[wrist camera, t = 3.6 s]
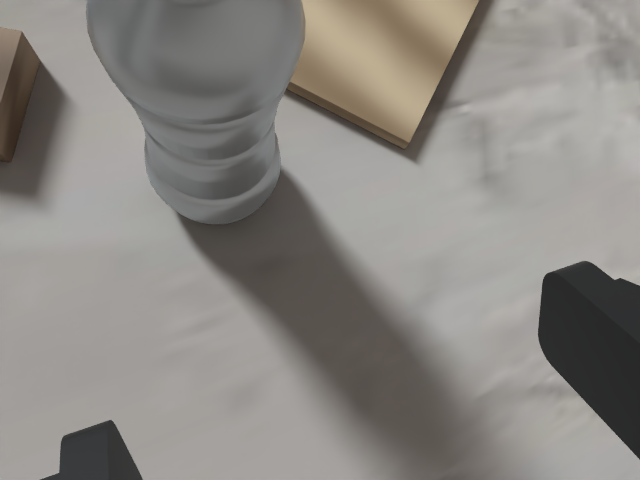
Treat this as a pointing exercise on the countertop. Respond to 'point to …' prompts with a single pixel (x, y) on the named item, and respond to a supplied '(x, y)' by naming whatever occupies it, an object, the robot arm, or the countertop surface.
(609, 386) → the robot arm
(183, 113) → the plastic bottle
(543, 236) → the countertop surface
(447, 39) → the oak mat
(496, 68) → the countertop surface
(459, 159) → the countertop surface
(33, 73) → the walnut brick
